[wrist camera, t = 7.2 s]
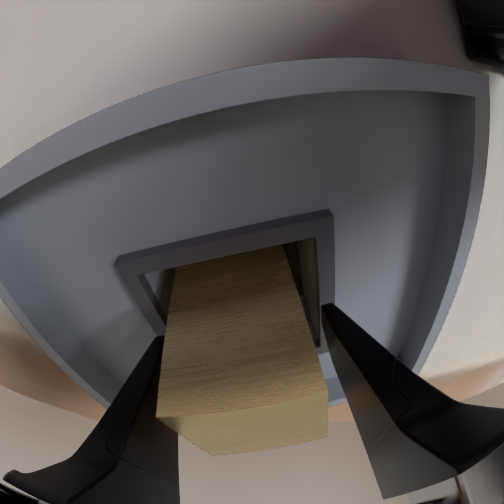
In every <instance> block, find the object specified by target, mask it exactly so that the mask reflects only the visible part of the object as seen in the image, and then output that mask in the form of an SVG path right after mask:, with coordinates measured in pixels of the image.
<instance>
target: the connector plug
mask: <svg viewBox="0 0 504 504" xmlns="http://www.w3.org/2000/svg"><path fill="white" fill-rule="evenodd" d="M156 418H157V419H159V420H160V421H161V422H163V423H164V424H165V425H167V426H168V427H170V428H171V429H172V430H174V431H175V432H176V433H178V434H179V435H181V436H182V437H184V438H185V439H187V440H188V441H190V442H191V443H193V444H194V445H196V446H197V447H199V448H200V449H202V450H204V451H205V452H207V453H208V454H210V455H212V456H214V455H215V456H216V455H228V454H238V453H247V452H254V451H261V450H268V449H273V448H279V447H285V446H290V445H295V444H300V443H304V442H309V441H313V440H317V439H321V438H325V437H327V429H328V389H327V385H326V382H325V378H324V375H323V371H322V368H321V365H320V361H319V358H318V355H317V351H316V348H315V345H314V342H313V338H312V335H311V332H310V329H309V325H308V322H307V319H306V316H305V313H304V310H303V306H302V303H301V300H300V297H299V294H298V291H297V288H296V285H295V282H294V279H293V276H292V273H291V270H290V266H289V263H288V260H287V258H286V255H285V252H284V249H283V246H282V244H280V245H276V246H271V247H266V248H262V249H257V250H252V251H248V252H243V253H238V254H234V255H229V256H224V257H220V258H215V259H210V260H206V261H201V262H196V263H192V264H187V265H182V266H178V267H176V272H175V278H174V283H173V289H172V295H171V301H170V307H169V313H168V319H167V326H166V333H165V340H164V347H163V355H162V363H161V371H160V380H159V390H158V400H157V411H156Z"/></svg>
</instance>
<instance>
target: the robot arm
mask: <svg viewBox="0 0 504 504" xmlns="http://www.w3.org/2000/svg"><path fill="white" fill-rule="evenodd" d="M456 3H457V7H458V11H459V15H460V20H461V25H462V30H463V36H464V42H465V49H466V54H467V56H468V58H469V59H470V60H471V61H472V62H475V63H479V64H482V65H486V66H489V67H492V68H495V69H498V70H501V71H504V0H456ZM321 323H322V327H323V331H324V334H325V338H326V342H327V346H328V349H329V353H330V357H331V360H332V363H333V366H334V368H335V371H336V373H337V376H338V378H339V381H340V383H341V386H342V388H343V391H344V394H345V396H346V399H347V401H348V404H349V406H350V409H351V412H352V414H353V417H354V419H355V422H356V425H357V427H358V430H359V433H360V435H361V438H362V441H363V443H364V446H365V449H366V451H367V454H368V457H369V460H370V463H371V466H372V468H373V471H374V474H375V477H376V480H377V483H378V485H379V488H380V491H381V494H382V497H383V499H387V498H391V497H395V496H399V495H403V494H407V496H408V500H409V503H410V504H504V409H503V408H493V407H485V406H478V405H471V404H464V403H461V402H458V401H456V400H454V399H452V398H450V397H449V396H447V395H446V394H444V393H443V392H441V391H440V390H438V389H437V388H435V387H434V386H432V385H431V384H429V383H428V382H426V381H425V380H424V379H422V378H421V377H419V376H418V375H417V374H415V373H414V372H413V371H411V370H410V369H409V368H408V367H407V366H405V365H404V364H403V363H402V362H401V361H400V360H399V359H396V357H395V356H394V355H393V354H392V353H390V352H389V351H388V350H387V349H386V348H385V347H383V346H382V345H381V344H380V343H379V342H378V341H377V340H375V339H374V338H373V337H372V336H371V335H370V334H368V333H367V332H366V331H365V330H364V329H363V328H362V327H360V326H359V325H358V324H357V323H356V322H355V321H353V320H352V319H351V318H350V317H349V316H348V315H346V314H345V313H344V312H343V311H342V310H341V309H339V308H338V307H337V306H336V305H335V304H333V303H327V304H323V305H321ZM164 340H165V335H161V336H156V337H155V338H154V340H153V341H152V343H151V344H150V346H149V347H148V349H147V350H146V351H145V353H144V354H143V356H142V357H141V359H140V360H139V362H138V363H137V365H136V366H135V368H134V369H133V371H132V372H131V374H130V375H129V377H128V378H127V380H126V382H125V383H124V385H123V386H122V388H121V389H120V391H119V392H118V394H117V395H116V397H115V398H114V400H113V402H112V403H111V405H110V406H109V408H108V409H107V411H106V412H105V414H104V415H103V417H102V418H101V420H100V421H99V423H98V424H97V425H96V427H95V428H94V430H93V431H92V432H91V433H90V435H89V436H88V437H87V439H86V440H85V441H84V442H83V444H82V445H81V446H80V448H79V449H78V450H77V451H76V452H75V454H73V456H71V457H70V458H68V459H67V460H65V461H62V462H60V463H57V464H54V465H52V466H49V467H46V468H44V469H41V470H38V471H35V472H32V473H21V472H19V471H17V470H12V471H10V472H8V473H7V474H6V475H5V476H4V477H3V480H4V481H6V482H8V483H9V484H11V485H13V486H15V487H16V488H18V489H20V490H22V491H24V492H26V493H28V494H30V495H32V496H34V497H36V498H38V499H36V498H33V497H31V496H28V495H26V494H23V493H21V492H19V491H16V490H14V489H12V488H10V487H8V486H6V485H3V484H1V483H0V504H180V495H179V483H178V482H179V471H178V433H176V432H175V431H174V430H172V429H171V428H170V427H168V426H167V425H165V424H164V423H163V422H161V421H160V420H159V419H157V418H156V411H157V400H158V390H159V380H160V371H161V363H162V355H163V347H164Z"/></svg>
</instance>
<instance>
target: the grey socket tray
mask: <svg viewBox="0 0 504 504" xmlns="http://www.w3.org/2000/svg"><path fill="white" fill-rule="evenodd" d="M489 123H490V98H489V78H488V75H486V74H482V73H478V72H474V71H469V70H465V69H460V68H455V67H450V66H445V65H439V64H433V63H426V62H418V61H409V60H398V59H384V58H318V59H303V60H292V61H283V62H275V63H267V64H260V65H254V66H248V67H242V68H237V69H232V70H227V71H222V72H218V73H213V74H209V75H205V76H201V77H197V78H193V79H189V80H186V81H182V82H179V83H175V84H172V85H169V86H165V87H162V88H159V89H156V90H153V91H150V92H147V93H144V94H142V95H139V96H136V97H133V98H131V99H128V100H126V101H123V102H120V103H118V104H116V105H113V106H111V107H108V108H106V109H104V110H101V111H99V112H97V113H95V114H93V115H90V116H88V117H86V118H84V119H82V120H80V121H78V122H76V123H74V124H72V125H70V126H68V127H66V128H64V129H62V130H61V131H59V132H57V133H55V134H53V135H51V136H50V137H48V138H46V139H44V140H43V141H41V142H39V143H38V144H36V145H34V146H33V147H31V148H30V149H28V150H26V151H25V152H23V153H22V154H20V155H19V156H17V157H16V158H14V159H13V160H11V161H10V162H8V163H7V164H5V165H4V166H3V167H1V168H0V298H1V299H2V301H3V302H4V303H5V305H6V306H7V307H8V309H9V310H10V311H11V313H12V314H13V315H14V317H15V318H16V319H17V321H18V322H19V323H20V324H21V325H22V327H23V328H24V329H25V330H26V332H27V333H28V334H29V335H30V336H31V337H32V339H33V340H34V341H35V342H36V343H37V344H38V345H39V346H40V348H41V349H42V350H43V351H44V352H45V353H46V354H47V355H48V356H49V357H50V358H51V359H52V360H53V361H54V362H55V363H56V364H57V365H58V366H59V367H60V368H61V369H62V370H63V371H64V372H65V373H66V374H67V375H68V376H69V377H70V378H71V379H72V380H73V381H74V382H75V383H76V384H78V385H79V386H80V387H81V388H82V389H83V390H84V391H85V392H87V393H88V394H89V395H90V396H91V397H92V398H94V399H95V400H96V401H97V402H98V403H100V404H101V405H102V406H103V407H105V408H106V409H108V408H109V406H110V405H111V403H112V402H113V400H114V398H115V397H116V395H117V394H118V392H119V391H120V389H121V388H122V386H123V385H124V383H125V382H126V380H127V378H128V377H129V375H130V374H131V372H132V371H133V369H134V368H135V366H136V365H137V363H138V362H139V360H140V359H141V357H142V356H143V354H144V353H145V351H146V350H147V349H148V347H149V346H150V344H151V343H152V341H153V340H154V338H155V337H156V336H161V335H165V333H166V326H167V319H168V313H169V307H170V301H171V295H172V289H173V283H174V278H175V272H176V270H175V268H174V267H178V266H182V265H187V264H192V263H196V262H201V261H206V260H210V259H215V258H220V257H224V256H229V255H234V254H238V253H243V252H248V251H252V250H257V249H262V248H266V247H271V246H276V245H280V244H285V243H290V242H294V241H298V249H299V258H300V267H301V277H302V287H303V295H300V296H299V297H300V300H301V303H302V306H303V310H304V313H305V316H306V319H307V322H308V325H309V329H310V332H311V335H312V338H313V342H314V345H315V348H316V351H317V355H318V358H319V361H320V365H321V368H322V371H323V375H324V378H325V382H326V385H327V389H328V407H331V406H335V405H338V404H342V403H345V402H348V401H347V399H346V396H345V394H344V391H343V388H342V386H341V383H340V381H339V378H338V376H337V373H336V371H335V368H334V366H333V363H332V360H331V357H330V353H329V349H328V346H327V342H326V338H325V334H324V331H323V327H322V323H321V305H323V304H327V303H333V304H335V305H336V306H337V307H338V308H339V309H341V310H342V311H343V312H344V313H345V314H346V315H348V316H349V317H350V318H351V319H352V320H353V321H355V322H356V323H357V324H358V325H359V326H360V327H362V328H363V329H364V330H365V331H366V332H367V333H368V334H370V335H371V336H372V337H373V338H374V339H375V340H377V341H378V342H379V343H380V344H381V345H382V346H383V347H385V348H386V349H387V350H388V351H389V352H390V353H392V354H393V355H394V356H395V357H396V359H399V360H400V361H401V362H402V363H403V364H404V365H405V366H407V367H408V368H409V369H410V370H411V371H413V372H414V373H415V374H417V375H419V373H420V371H421V369H422V367H423V365H424V364H425V362H426V360H427V358H428V356H429V354H430V352H431V350H432V348H433V346H434V344H435V342H436V340H437V337H438V335H439V333H440V331H441V329H442V326H443V324H444V322H445V319H446V317H447V315H448V312H449V310H450V307H451V305H452V302H453V300H454V297H455V294H456V292H457V289H458V286H459V283H460V280H461V277H462V274H463V271H464V268H465V265H466V262H467V258H468V255H469V251H470V248H471V244H472V240H473V237H474V233H475V228H476V224H477V220H478V215H479V210H480V205H481V200H482V194H483V188H484V181H485V174H486V166H487V156H488V144H489Z"/></svg>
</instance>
